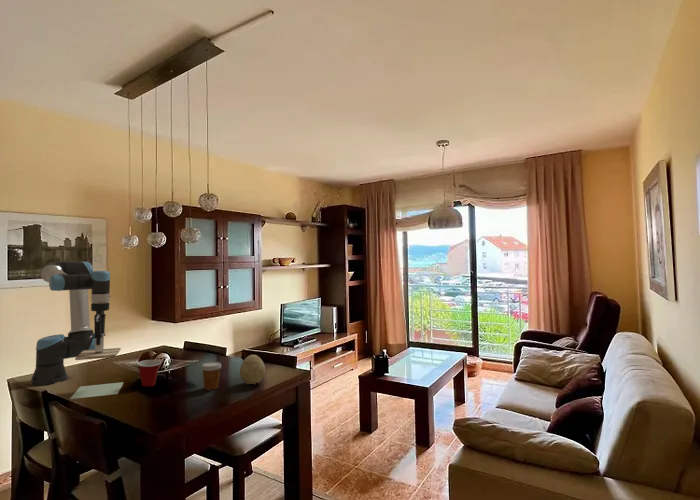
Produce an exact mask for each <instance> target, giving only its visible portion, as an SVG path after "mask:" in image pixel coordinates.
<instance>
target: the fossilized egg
mask: <svg viewBox="0 0 700 500" xmlns="http://www.w3.org/2000/svg"><path fill="white" fill-rule="evenodd" d="M265 374H266V366H265V363H264V361H263V360H262V358H261V357H260V356H259V355H257V354H249V355H247V357H245V358H244V359H243V361H242V363H241V365H240V368H239V375H240V378H241V380H242V382H243V383H245V384H247V385H249V384H254V385H257V384H259V383H260V382H262V380H263V379H264V377H265ZM256 383H257V384H256Z"/></svg>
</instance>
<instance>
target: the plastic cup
mask: <svg viewBox="0 0 700 500" xmlns="http://www.w3.org/2000/svg"><path fill="white" fill-rule="evenodd" d="M161 364H162V361H160V360H158V359H145V360H141V361H138V362H137V366H138V369H139V376H140V381H141V382H140V383H141V386H142V387H148V388H149V387H151V388H152V387H154V386H156V384H157V383H156V381H157V378H158V373H159V368H160V365H161Z"/></svg>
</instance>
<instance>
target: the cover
mask: <svg viewBox="0 0 700 500" xmlns="http://www.w3.org/2000/svg"><path fill="white" fill-rule="evenodd" d="M104 334H105V333H103V334H102V337H101V338H102V351H100V352H95V350H84V351H83V352H81V353H80V354H79V355H78V356H77V357H74V358H75V359H74V361H81V360H82V361H83V360H94V359H95V360H97V359H109V358H110V359H111V358H116V357H117V355H118V354H119V353H120V352H121V347H115V348H104V345H105V344H104V340H105V339H104V338H105V336H104Z"/></svg>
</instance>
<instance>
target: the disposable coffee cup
mask: <svg viewBox="0 0 700 500" xmlns="http://www.w3.org/2000/svg"><path fill="white" fill-rule="evenodd" d="M222 366H223V365H222V363H221V362H218V361H210V362H206V363H203V364H202V366H201V370H202V377H203V387H204V390H205V389H206V390H205V391H213V390H212V389H215V390H217V389H218V388H219V383H220V375H221V369H222ZM216 388H217V389H216Z"/></svg>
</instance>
